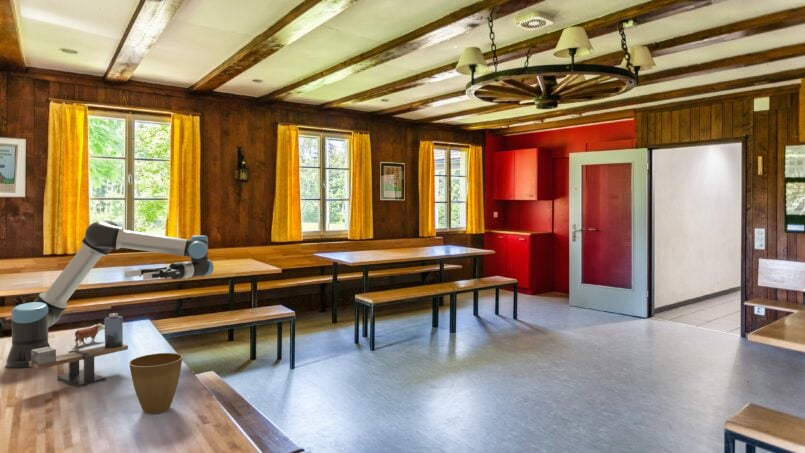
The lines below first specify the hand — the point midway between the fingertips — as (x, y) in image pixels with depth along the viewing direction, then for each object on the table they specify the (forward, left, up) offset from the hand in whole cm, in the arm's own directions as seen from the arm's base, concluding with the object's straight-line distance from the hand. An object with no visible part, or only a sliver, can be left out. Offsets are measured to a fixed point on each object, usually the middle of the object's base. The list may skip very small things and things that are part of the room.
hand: (134, 275), depth 205 cm
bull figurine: (-40, +1, -35) cm, 53 cm away
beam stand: (+10, -25, -35) cm, 44 cm away
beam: (+10, -25, -27) cm, 38 cm away
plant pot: (+58, -26, -35) cm, 73 cm away
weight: (+10, -14, -25) cm, 30 cm away
